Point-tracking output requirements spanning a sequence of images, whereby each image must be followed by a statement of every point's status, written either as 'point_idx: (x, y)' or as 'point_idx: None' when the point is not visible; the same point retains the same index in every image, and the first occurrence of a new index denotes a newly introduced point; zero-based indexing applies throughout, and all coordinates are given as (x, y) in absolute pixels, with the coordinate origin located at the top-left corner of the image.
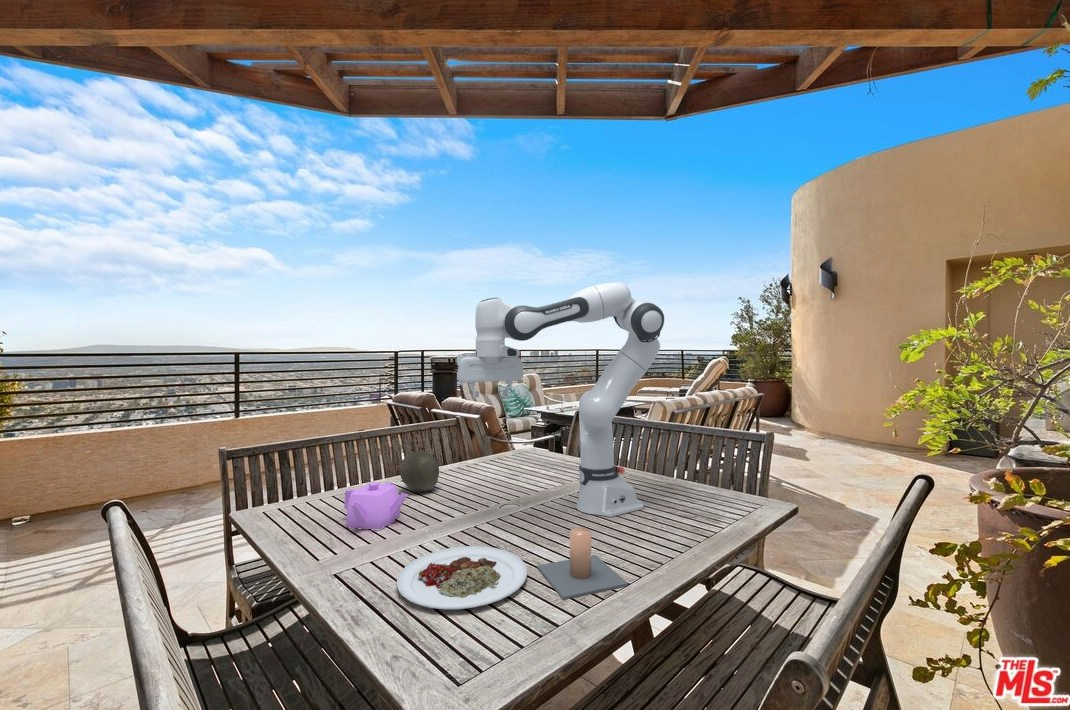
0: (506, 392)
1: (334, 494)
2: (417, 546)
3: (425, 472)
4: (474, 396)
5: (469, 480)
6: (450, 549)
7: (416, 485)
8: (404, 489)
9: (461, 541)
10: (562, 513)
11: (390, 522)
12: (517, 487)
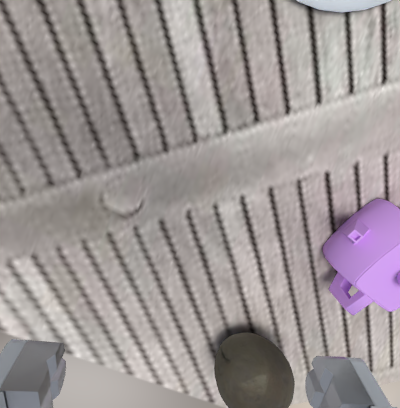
0: (22, 366)
1: None
2: (357, 88)
3: (255, 353)
4: (361, 360)
5: (144, 361)
6: (331, 6)
7: (264, 338)
8: None
9: (279, 67)
10: (23, 107)
11: (352, 217)
12: (68, 293)
